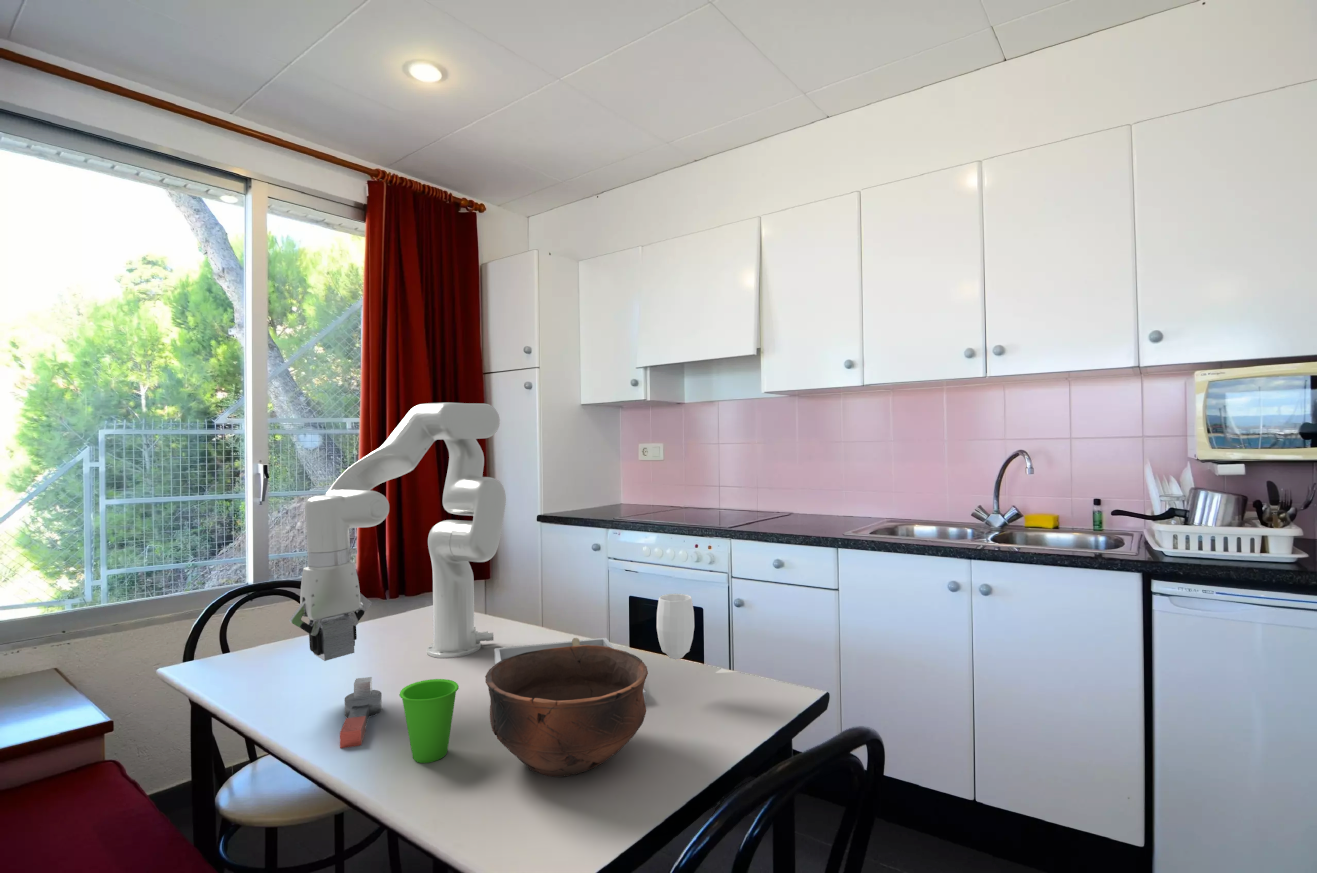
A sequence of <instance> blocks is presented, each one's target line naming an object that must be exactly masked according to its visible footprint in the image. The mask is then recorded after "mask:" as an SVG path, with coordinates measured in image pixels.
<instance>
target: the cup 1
mask: <svg viewBox="0 0 1317 873" xmlns="http://www.w3.org/2000/svg"><path fill="white" fill-rule="evenodd" d="M459 689H460V688H459V684H458V683H457V681H454V680H450V679H446V678H445V679H443V678H435V679H424V680H420V681H416V682H413V683H410V684H408V685H406V686H404V687H403V688H402V689H401V690H400V691H399V697H400V698H401V699H402V700H401V701H402V704H403V705H402V706H403V710H404V715H405V716H404V717H405V721H406V726H407V733H408V738H409V742H410V750H411V755H412V758H413V760H414V761H415V762H416V763H420V764H429V763H433V762H438V761H439V760H442V758H444V757H445V756H446V755H447V753H448V749H449V743H450V737H451V728H452V721H453V713H454V708H455V700H456V695H457V691H458V690H459Z"/></svg>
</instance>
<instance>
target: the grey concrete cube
mask: <svg viewBox="0 0 1317 873" xmlns="http://www.w3.org/2000/svg"><path fill="white" fill-rule="evenodd" d="M319 634H320V635H321V648H322V654H321V655H316V654H314V653H313V655H314V656H316V657H317V658H319V659H321V660H322V661H324V662H326V661H329V660H333V659H337V658H340V657H344V656H347V655H350V654H351V655H352V654H355V646H354V634H353V618H352V617H350V616H348V615H346V614H343V615H338V616H334V617H330V618H325V619H322V621H321V623H320V627H319Z"/></svg>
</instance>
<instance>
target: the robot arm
mask: <svg viewBox="0 0 1317 873" xmlns="http://www.w3.org/2000/svg"><path fill="white" fill-rule="evenodd" d="M500 421H501V419H500V413H499V412H498V410H497V409H496V408H495V407H494V406H493V405H491V404H488V403H477V402H476V403H474V402H473V403H470V402H469V403H466V402H465V403H464V402H428V403H427V402H426V403H419V404H417V405H415V406H413V407H412V408H410V410H408V412H407V413H406V414H405V416H404V417H403V418H402V419H401V421H400V422H399V423H398V424H397V426H396V427H395V428H394V430H393V431H391V433H390V435H389V436H388V437H387V438H386V440H385V441H384V442H383V443H382V444H381V445H380V446H379V447H378V448H376V449H375V450H373V451H371V452H370V453H368V454H367V455H365V456H363V457H362V458H361V459H359V460H358V461H356V462H354V463H353V464H352V465H351V466H349V467H347V469H345V470H344V471H343V472H342V473H341V474H340V475H339V476H338V478H336V480H335V481H334V482H333V484H332V485H331V486H330V487H329V488H328V490H327V491H326V493H325V494H323V495H317V496H312V497H310V498H308V499H307V500H306V501H305V504H304V505H305V506H304V511H305V512H304V513H305V532H306V533H305V534H306V547H307V549H306V552H307V566H306V567H303V570H302V573H301V574H302V575H301V584H300V594H299V595H300V597H299V601H300V603H299V606H298V607H297V609H296V610H295V611H294V613H293V614H292V616H290V618H289V619H288V620H289V622H290V624H293V625H294V626H296V627H298V628H300V629H301V630H303V631H304V632H306V633H307V634H308V637H309V638H308V640H309V651H310V652H312V653H313V655H314V654H316V655H321V654H322V648H321V635H320V634H319V627H320V623H321V621H322V619H325V618H330V617H334V616H338V615H343V614H346V615H348V616H350V617H352V618H353V634H354V647H355V646H356V640H357V639H358V638H357V636H358V635H357V626H358V624H359V621H360V620H361V619H362V617H363V616H364V615H365V613H366V612H367V611H368V609H369V608H370V607H371V606H372V603H373V602H372V601H371V600H369V599H368V598H367V597H365V596H364V595H363V594H362V593H361V592H360V591H361V590H360V583H359V582H360V581H359V576H358V572H357V569H356V566H355V562H354V561H353V560H352V557H354V556H356V555H358V549H357V548H356V547H354V548H352V547H351V543H350V529H356V528H371V527H375V526H377V525H380V524H382V523H383V521H385V520H386V519H387V517H388V515H389V513H390V503H389V500H388V499H387V497H386V496H385V495H384V494H382V493H380V492H378V491H376V490H373V489H374V488H375V487H377V486H379V485H380V484H382V483H385V482H388V481H390V480H393V479H397V478H399V477H402V476H404V475H406V474H408V473H411V472H412V471H414V470H415V468H416V467H417V466H418V465H419V463H420V461H421V460H422V459H423V457H424V456H425V454H426V453H427V452H428V451H429V449H430V448H431V446H432V445H433V444H434V443H435V442H436V441H437V440H440V441H442V440H443V441H444V443H445V445H446V448H447V451H448V457H449V458H448V466H447V473H446V477H445V482H444V487H443V493H442V506H443V509H444V511H446V512H447V513H448V514H453V515H458V516H469V517H470V516H471V517H473V518H472V520H465V519H464V520H460V519H459V520H458V519H446V520H445V519H444V520H442V521H439V522H437V523H436V524H435V525H433V526H432V527H431V529H430V530H429V533H428V537H427V546H428V547H427V549H428V553H429V556H430V561H431V569H432V616H433V617H432V619H433V620H432V622H433V623H432V626H433V628H432V629H433V632H432V634H433V640H432V641H433V642H432V643H430V644H429V645H428V646H427V647H426V654H427V655H428V656H430V657H432V658H437V659H438V658H440V659H449V658H458V657H459V658H460V657H463V656H466V655H470V654H474V653H475V652H478V650H480V649H481V647H482V643H481V642H491V641H494V632H489V631H488V630H487V631H478V630H477V631H476V626H475V592H474V591H475V590H474V589H475V588H474V587H475V586H474V585H475V581H474V572H473V569H472V566H471V564H470V562H473V563H485V562H488V561H489V560H491V559H492V558H494V557H495V555H496V554H497V551H498V548H499V544H500V540H501V535H502V528H503V522H504V518H505V517H504V516H505V512H506V511H505V510H506V505H507V504H506V503H507V497H506V490H505V488H504V485H503V484H502V482H501V481H499V480H498V479H497V478H495V477H490V476H484V475H483V474H484V473H483V472H484V466H485V456H484V452H483V450H482V447H481V445H480V444H479V442H478V439H479V440H480V439H488V438H491V437H492V436H494V435H495V434H496V433H497V432H498V430H499V427H500V424H501V422H500ZM303 617H306V618H308V623H307V622H305V621H303V620H302V618H303ZM316 655H315V656H316Z"/></svg>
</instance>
